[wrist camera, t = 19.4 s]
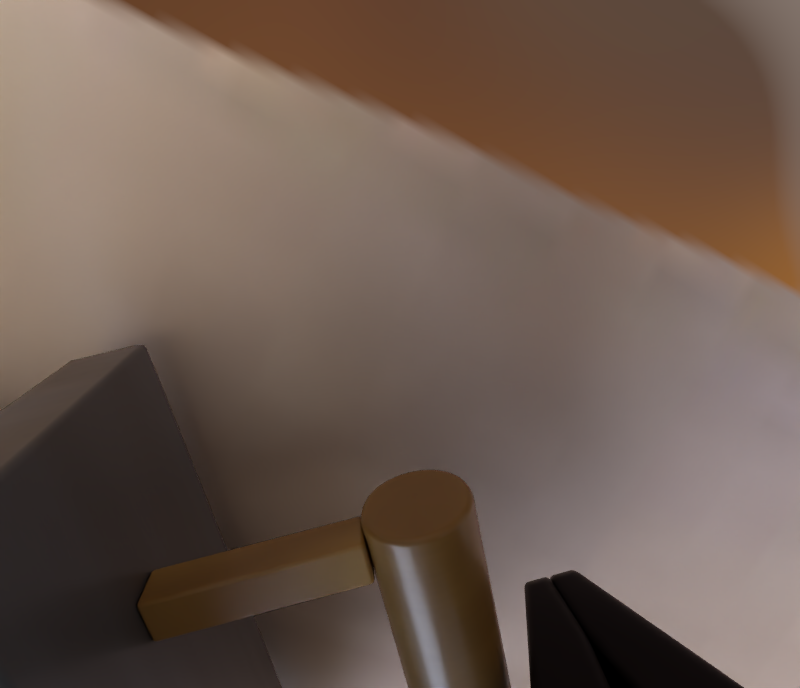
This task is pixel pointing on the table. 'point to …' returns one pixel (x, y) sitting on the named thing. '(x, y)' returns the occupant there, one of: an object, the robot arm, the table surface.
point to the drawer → (204, 553)
